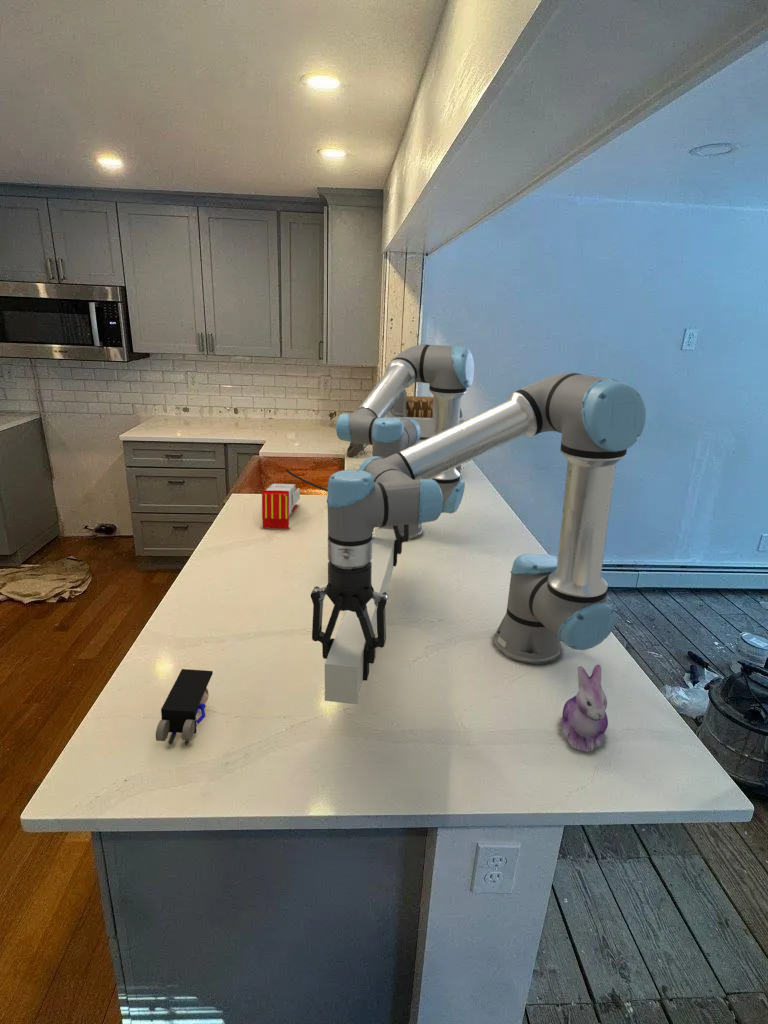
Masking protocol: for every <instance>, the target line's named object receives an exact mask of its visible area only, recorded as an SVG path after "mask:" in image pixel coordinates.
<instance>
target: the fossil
mask: <svg viewBox="0 0 768 1024" xmlns="http://www.w3.org/2000/svg"><path fill="white" fill-rule="evenodd" d="M367 446H369V445H368V444H360V443H351V442H349V446H348V447H347V450H346V456H347V457H348V458H352V457H355V456H357V455H359V454H360V453H361V452H363V453H364V454H366V452H365V449H366V448H367Z"/></svg>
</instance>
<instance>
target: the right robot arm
mask: <svg viewBox="0 0 768 1024" xmlns="http://www.w3.org/2000/svg"><path fill="white" fill-rule="evenodd" d="M646 422H647V408H646V404H645V401H644V399H643V397H642V395H641V394H640V393H639V392H638V390H637V389H636V388H635V387H634V386H632V385H630V384H628V383H625V382H621V381H619V380H616V379H614V378H607V377H602V376H601V377H600V376H595V375H588V374H582V373H577V372H563V373H558V374H555V375H551V376H548V377H546V378H543V379H540V380H538V381H535V382H533V383H531V384H529V385H526V386H524V387H522V388H520V389H518V390H515V391H514V392H512V393H510V394H509V395H508V398H507V401H504V402H502V403H500V404H497V405H496V406H493V407H491V408H489V409H487V410H484V411H483V412H481V413H478V414H477V415H474V416H473V417H471V418H468V419H466V420H465V421H464V422H462V423H460V424H457V425H455V426H453V427H451V428H449V429H447V430H445V431H443V432H440V433H438V434H436V435H434V436H432V437H430V438H428V439H426V440H423V441H421V442H419V443H417V444H415V445H413V446H411V447H409V448H406V449H404V450H402V451H400V452H398V453H396V454H393V455H391V456H389V457H387V458H384V457H379V456H374V457H372V456H370V457H368V458H366V459H365V460H363V462H362V463H361V464H360V466H359V467H358V469H357V470H354V469H344V470H339V471H336V472H334V473H332V474H331V475H330V476H329V479H328V483H327V484H328V485H327V490H328V492H327V496H326V504H327V560H328V562H327V584H326V586H324V587H320V586H317V585H316V586H314V587H313V589H312V590H311V593H310V599H311V601H312V604H313V606H312V608H313V609H312V627H311V629H312V630H311V640H312V641H313V642H320V643H321V647H322V648H321V649H322V658H323V659H324V660H326V659H327V657H328V654H329V652H330V649H331V646H332V644H333V641H334V639H335V638H332V636H333V632H334V629H335V628H336V627H335V626H336V623H337V621H338V618H339V615H340V612H345V611H347V610H349V611H352V612H356V615H357V618H358V619H359V622H360V625H361V628H362V631H363V634H364V637H365V641H366V643H365V647H364V654H363V682H367V681H368V679H369V674H370V665H371V664H372V665H374V663H375V660H376V653H377V651H376V649H377V648H380V649H383V648H385V645H386V640H387V627H386V626H387V622H386V621H387V619H386V618H387V617H386V616H387V615H386V605H387V603H388V599H389V593H388V592H387V593H386V592H383V593H382V594H381V593H378V592H375V591H374V589H373V587H372V584H371V574H372V563H371V560H372V538H373V537H374V535H373V532H374V530H373V528H374V529H375V528H379V527H384V526H396V525H407V524H421V525H422V524H425V523H430V522H434V521H437V520H438V519H439V518H440V516H441V514H442V513H441V512H442V506H443V497H442V492H441V489H440V486H439V485H438V483H437V482H436V481H435V480H433V478H435V477H437V476H439V475H441V474H443V473H445V472H447V471H449V470H452V469H454V468H456V467H458V466H460V465H461V466H463V465H464V464H466V463H468V462H471V461H472V460H474V459H477V458H479V457H481V456H483V455H485V454H487V453H489V452H491V451H493V450H495V449H497V448H500V447H502V446H504V445H506V444H508V443H510V442H512V441H514V440H516V439H519V438H521V437H526V438H533V437H535V436H537V435H538V434H542V433H546V432H555V433H560V434H561V440H560V448H559V449H560V453H561V454H562V455H563V457H565V458H566V460H567V465H566V475H565V482H564V483H565V485H564V495H563V504H562V514H561V522H560V523H561V524H560V531H559V532H560V533H559V542H558V553H557V556H556V555H552V554H547V553H524V554H521V555H518V556H517V557H515V559H514V560H513V563H512V567H511V570H510V581H509V590H508V597H507V605H506V606H507V607H506V612H505V614H504V616H503V618H502V620H501V622H500V623H499V625H498V627H497V630H496V632H495V637H494V644H495V647H496V648H497V649H498V651H499V652H500V653H502V654H503V655H504V656H506V657H508V658H509V659H511V660H514V661H517V662H519V663H524V664H530V665H543V664H544V665H545V664H548V663H551V662H554V661H555V660H557V659H558V658H559V656H560V654H561V649H562V643H564V644H565V645H566V646H568V648H570V649H573V650H575V651H587V650H591V649H594V648H596V647H597V646H599V645H600V644H601V643H602V642H603V641H604V640H606V639H607V638H608V637H609V636H610V635H611V633H612V631H613V630H614V628H615V626H616V623H617V614H616V611H615V609H614V608H613V606H612V605H611V604H609V603H608V602H607V595H608V582H607V581H606V580H605V579H604V577H602V571H603V563H604V556H605V549H606V540H607V535H608V528H609V527H608V526H609V520H610V519H609V518H610V511H611V506H612V505H611V504H612V497H613V488H614V482H615V473H616V466H617V463H619V462H620V461H621V460H622V459H624V458H625V457H626V456H627V452H628V449H630V448H631V447H632V446H634V445H635V444H636V443H637V441H638V437H642V434H643V433H644V429H645V426H646ZM372 531H373V532H372ZM326 596H327V597H328V599H329V600H330V601H331V602H332V604H333V608H332V611H331V614H330V617H329V620H328V623H327V625H326V628H325V630H324V631H322V630H323V612H324V610H323V609H324V600H325V598H326ZM371 598H372V599H374V604H375V605H376V606H378V607H377V631H376V635H375V634H374V631H373V628H372V624H371V621H370V618H369V615H368V611H367V605H366V604H367V603H368V602H369V601H370V599H371Z"/></svg>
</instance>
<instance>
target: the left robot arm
mask: <svg viewBox="0 0 768 1024" xmlns="http://www.w3.org/2000/svg"><path fill="white" fill-rule="evenodd" d="M474 376H475V361H474V358H473V354H472V352H471V350H470V349H469V348H467V347H464V346H456V345H441V344H440V345H439V344H426V343H425V344H424V343H421V344H416V345H413V346H410V347H408V348H406V349H405V350H403V351H400V352H399V353H398V354H397V355H395V356H394V357H393V358H392V359H391V360H390V362H389V363H388V364H387V366H386V369H385V373H384V374H383V376H382V377H381V378H380V380H378V382H377V383H376V385H375V386H374V387H373V388H372V389H371V391H370V392H369V393H368V395H366V397H365V398H364V400H363V401H362V402H361V404H360V405H359V406H358V407H357V408H356V410H354V412H352V413H350V412H348V413H345V412H344V413H341V414H340V415H339V416H338V418H337V420H336V423H335V432H336V436H337V438H338V439H339V440H340V441H342V442H343V441H344V442H348V443H360V444H368V446H372V447H371V448H372V449H371V457H374V456H379V457H384V458H387V457H389V456H391V455H393V454H396V453H398V452H400V451H402V450H404V449H406V448H409V447H411V446H413V445H414V444H415V443H416V442H417V441H418V440H419V438H420V436H421V429H420V426H419V424H418V423H417V422H416V421H415V420H414V419H411V418H403V419H397V418H386V415H387V413H388V412H389V410H390V409H391V408H392V406H393V405H394V404H395V402H396V401H397V399H398V398H399V397H400V395H401V394H402V393H403V391H404V390H406V389H408V388H410V387H412V386H413V385H414V383H423V384H429V387H428V388H429V389H428V391H429V392H430V393H431V395H432V397H434V401H433V419H432V436H434V435H436V434H438V433H440V432H443V431H445V430H447V429H449V428H451V427H453V426H455V425H457V424H459V418H460V408H461V403H462V397H463V396H464V395H465V394H466V393H467V388H471V386H472V385H473V382H474ZM284 471H285V472H287V473H288V474H289V475H291V476H293V477H294V478H296V479H298V480H300V481H301V482H303V483H306V484H308V485H309V486H312V487H314V488H317V489H319V490H322V491H324V492H327V493H328V488H325V487H322V486H320V485H318V484H315V483H312V482H311V481H308V480H306V479H304V478H302V477H300V476H298V475H296V474H295V473H293V472H292V471H290V470H288V468H286V469H285V470H284ZM433 480H435V481H436V482H437V483H438V485H439V486H440V489H441V492H442V497H443V506H442V512H441V514H451V515H452V514H454V513H456V512H457V510H458V509H459V508H460V505H461V502H462V500H463V497H464V493H465V489H466V485H465V484H466V483H465V481H464V480H463V479H461V474H460V473H459V472H458V471H457V470H456V468H454V469H452V470H449V471H447V472H445V473H443V474H441V475H439V476H437V477H435V478H433ZM378 528H381V529H394V533H395V536H396V540H395V542H394V559H393V567H397V564H398V555H401V554H402V551H403V543H408V542H409V541H410V540H415V539H418V538H420V537H421V536H422V535H423V525H422V523H421V524H407V525H396V526H384V527H378ZM374 529H375V528H373V531H372V533H374ZM372 540H373V538H372Z"/></svg>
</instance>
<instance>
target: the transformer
mask: <svg viewBox="0 0 768 1024" xmlns="http://www.w3.org/2000/svg"><path fill="white" fill-rule="evenodd" d="M407 394H408V393H407V390H406V389H405V390H404V391H403V393H402V394H401V395H400V397H399V398H398V399H397V401H396V402H395V404H394V405H393V406H392V408H391V409H390V410H389V412H388V413H387V415H386V416H385V418H397V419H403V418H411V419H414V420H415V421H416V422H417V423H418V424H419V426H420V429H421V436H420V438H419V440H418V441H417V442H416V443H415V444H417V443H419V442H421V441H423V440H426V439H428V438H430V437H432V419H433V401H434V396H415V395H414V396H413V395H412V396H411V395H407ZM464 421H466V420H465V419H464V418H463V411H462V408H461V407H460V418H459V424H460V423H462V422H464ZM415 444H414V445H415ZM456 470H457V471H458V472H459V473H460V475H461V472H462V465H460V466H458V467H456Z"/></svg>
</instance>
